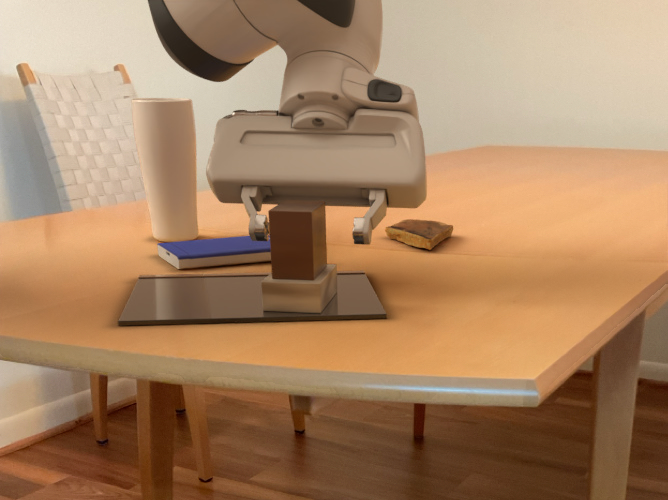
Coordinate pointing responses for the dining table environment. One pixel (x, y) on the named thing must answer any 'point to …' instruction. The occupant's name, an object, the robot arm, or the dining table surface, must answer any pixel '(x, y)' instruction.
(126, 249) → the dining table surface
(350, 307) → the slate
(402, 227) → the shard
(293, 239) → the brown block with base
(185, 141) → the white cup
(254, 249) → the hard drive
